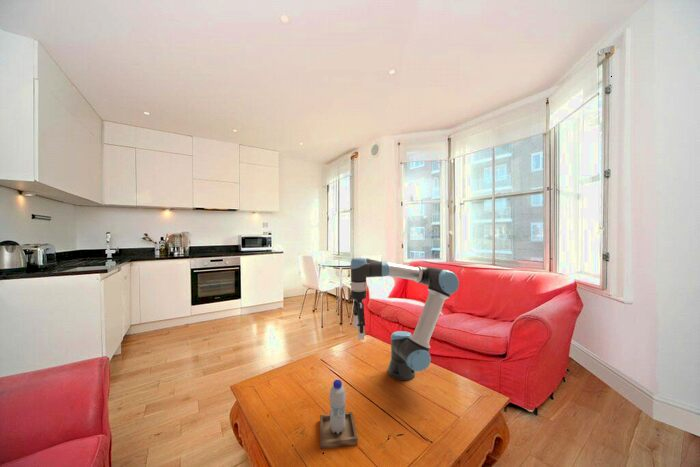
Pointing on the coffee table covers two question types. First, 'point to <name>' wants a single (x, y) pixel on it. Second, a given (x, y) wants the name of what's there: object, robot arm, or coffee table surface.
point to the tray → (334, 439)
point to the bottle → (337, 407)
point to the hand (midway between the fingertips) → (358, 333)
